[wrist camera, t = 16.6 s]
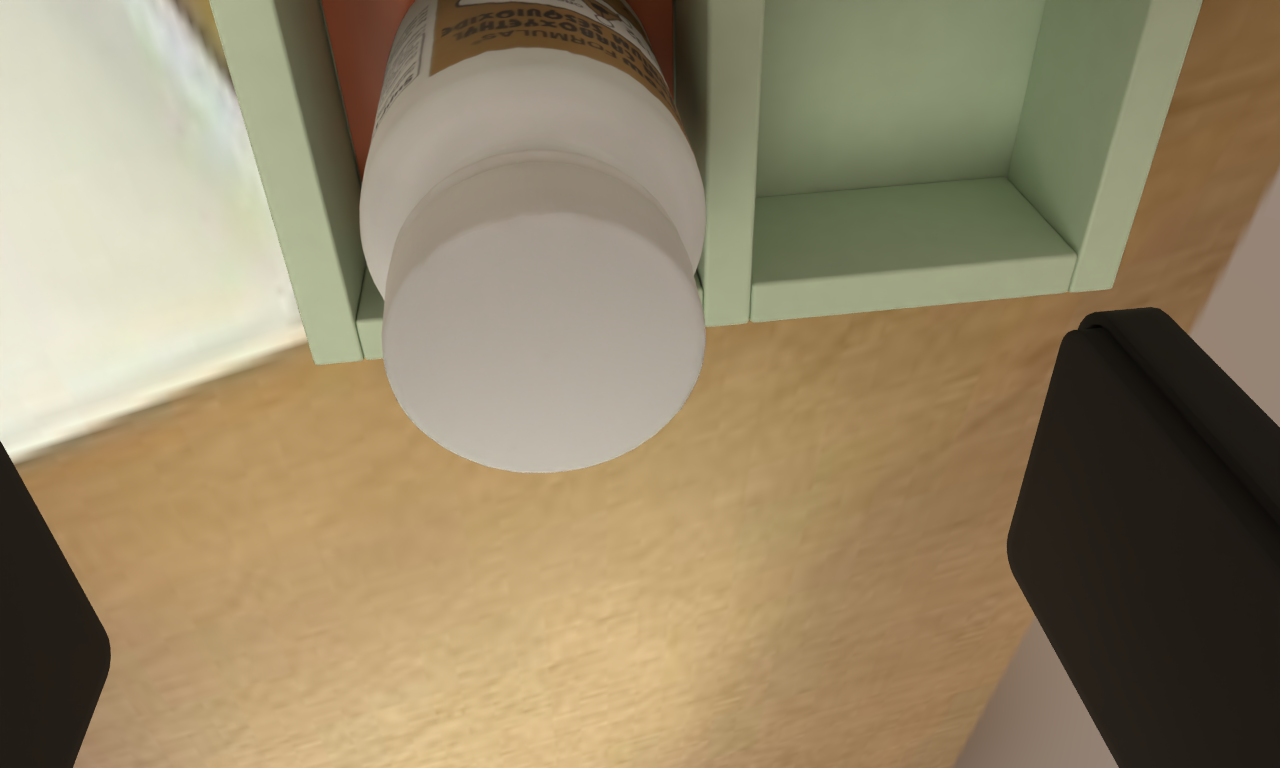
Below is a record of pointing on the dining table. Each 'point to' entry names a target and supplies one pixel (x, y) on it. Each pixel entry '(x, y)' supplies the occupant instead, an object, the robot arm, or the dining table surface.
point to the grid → (781, 145)
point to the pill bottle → (533, 232)
